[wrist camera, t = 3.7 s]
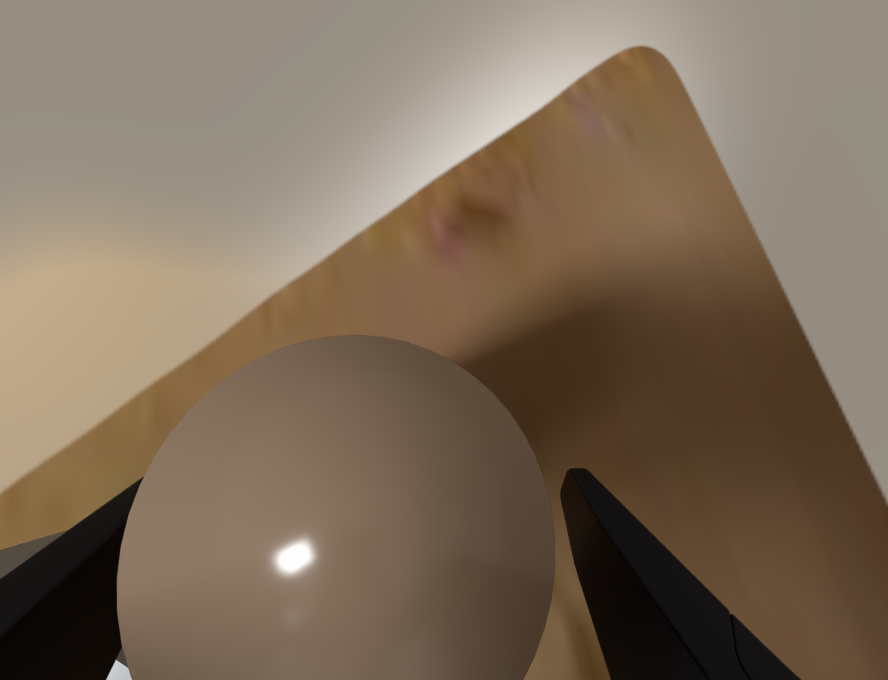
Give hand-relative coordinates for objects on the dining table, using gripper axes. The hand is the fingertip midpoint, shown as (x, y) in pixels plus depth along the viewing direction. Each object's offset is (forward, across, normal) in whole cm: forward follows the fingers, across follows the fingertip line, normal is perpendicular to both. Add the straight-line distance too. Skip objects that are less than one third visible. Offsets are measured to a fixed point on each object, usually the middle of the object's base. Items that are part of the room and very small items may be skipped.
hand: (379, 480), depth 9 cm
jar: (+5, 0, +6) cm, 8 cm away
